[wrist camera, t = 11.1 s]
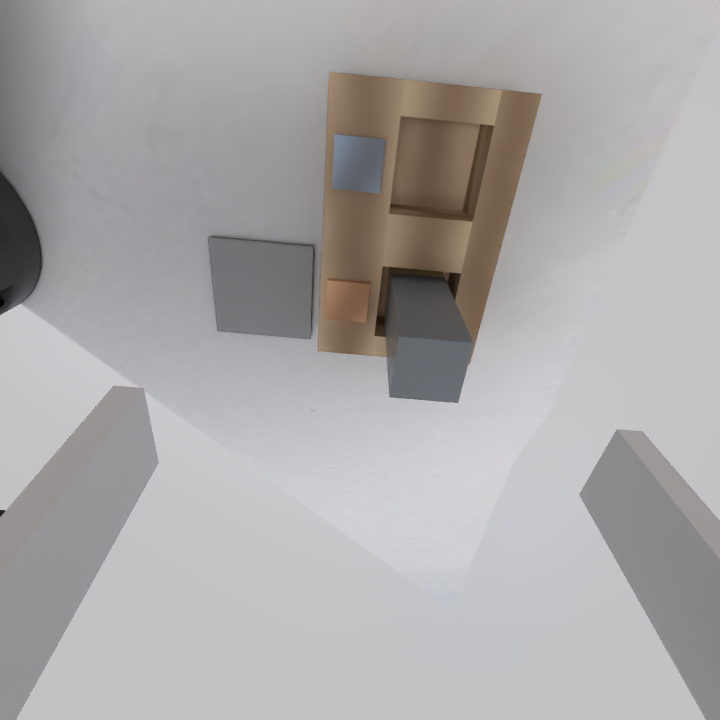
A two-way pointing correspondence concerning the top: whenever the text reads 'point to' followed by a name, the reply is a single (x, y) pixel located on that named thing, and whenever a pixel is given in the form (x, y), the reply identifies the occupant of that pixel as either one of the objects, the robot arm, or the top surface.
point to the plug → (424, 337)
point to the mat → (262, 287)
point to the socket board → (414, 196)
